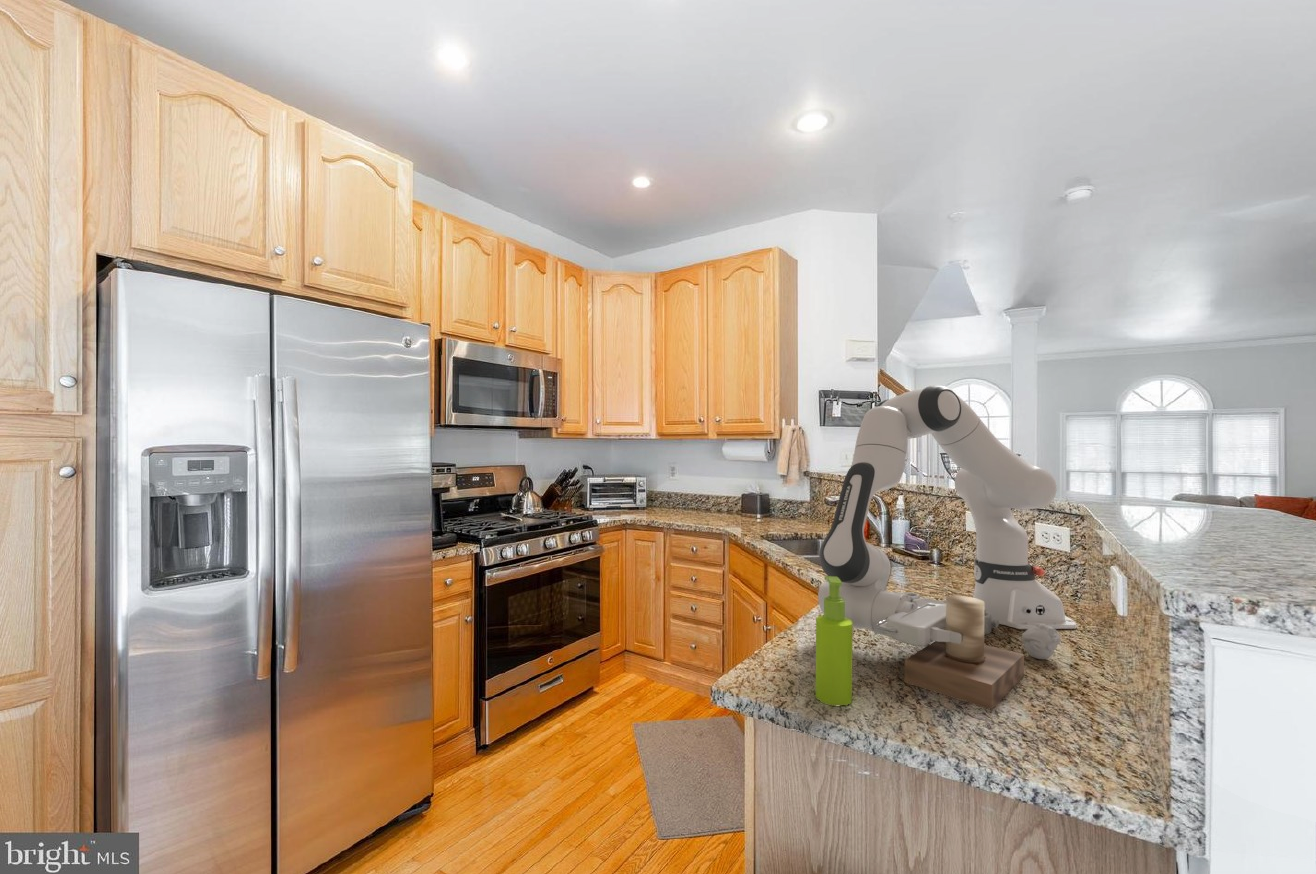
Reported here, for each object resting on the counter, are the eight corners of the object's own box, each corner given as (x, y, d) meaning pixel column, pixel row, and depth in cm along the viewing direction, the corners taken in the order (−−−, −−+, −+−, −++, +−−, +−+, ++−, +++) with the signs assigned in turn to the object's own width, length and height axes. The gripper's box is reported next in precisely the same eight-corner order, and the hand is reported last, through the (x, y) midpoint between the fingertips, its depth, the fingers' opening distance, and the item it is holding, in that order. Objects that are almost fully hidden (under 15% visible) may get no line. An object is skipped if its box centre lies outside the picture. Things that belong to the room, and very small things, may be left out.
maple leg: (974, 670, 104) (975, 596, 105) (991, 684, 98) (991, 605, 98) (939, 668, 105) (940, 594, 105) (953, 682, 99) (954, 604, 99)
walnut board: (944, 654, 114) (944, 635, 114) (1024, 675, 104) (1024, 654, 104) (904, 682, 100) (904, 660, 100) (991, 709, 90) (991, 685, 90)
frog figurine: (1068, 664, 110) (1068, 629, 110) (1034, 664, 109) (1034, 629, 109) (1045, 652, 116) (1045, 619, 116) (1013, 653, 115) (1013, 619, 115)
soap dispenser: (845, 688, 97) (846, 574, 97) (855, 707, 90) (856, 584, 90) (811, 686, 97) (812, 573, 98) (818, 705, 90) (820, 582, 91)
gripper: (872, 609, 104) (950, 627, 94) (915, 591, 118) (987, 605, 108) (871, 643, 104) (950, 664, 94) (915, 620, 118) (987, 637, 108)
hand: (970, 632), depth 101 cm, fingers open, 8 cm apart
